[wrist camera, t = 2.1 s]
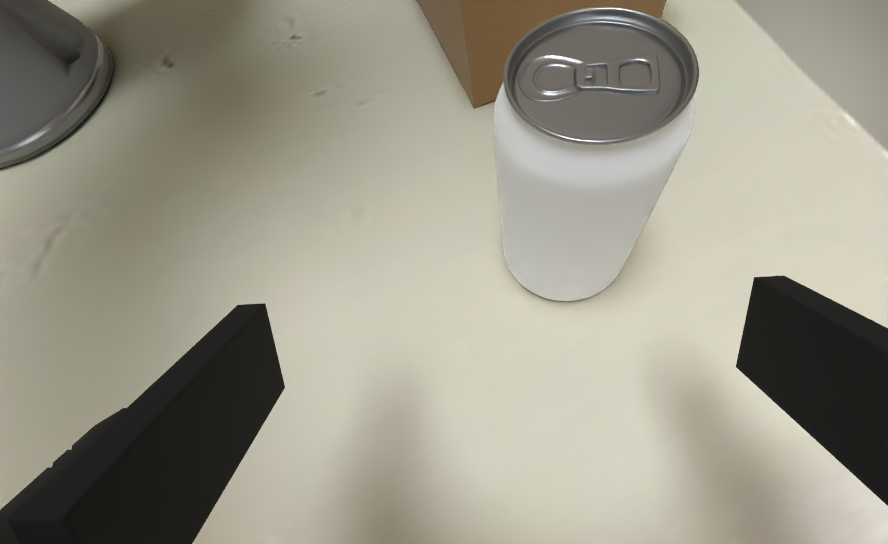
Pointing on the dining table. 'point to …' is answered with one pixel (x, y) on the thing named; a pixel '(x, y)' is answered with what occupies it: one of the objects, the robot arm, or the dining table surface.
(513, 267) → the can
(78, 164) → the dining table surface
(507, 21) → the shoebox
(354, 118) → the dining table surface
